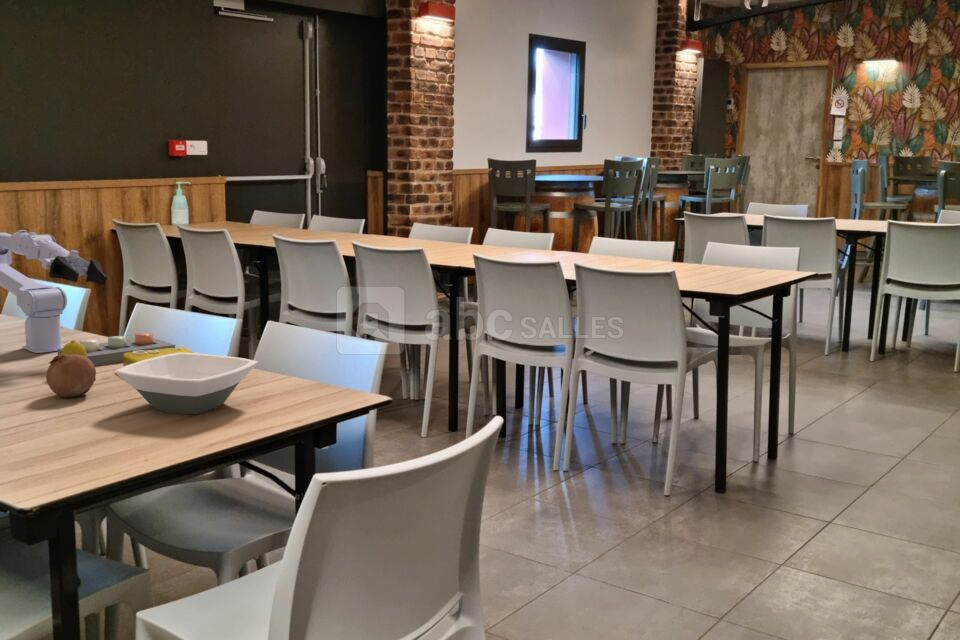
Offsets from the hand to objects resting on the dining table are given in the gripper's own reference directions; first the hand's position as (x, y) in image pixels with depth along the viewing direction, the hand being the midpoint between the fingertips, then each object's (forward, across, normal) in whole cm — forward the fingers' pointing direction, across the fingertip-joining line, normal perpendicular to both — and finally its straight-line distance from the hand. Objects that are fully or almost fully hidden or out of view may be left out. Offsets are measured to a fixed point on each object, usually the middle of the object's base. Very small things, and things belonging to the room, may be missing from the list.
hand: (91, 279), depth 227 cm
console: (+5, +10, +18) cm, 21 cm away
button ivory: (+3, +3, +17) cm, 18 cm away
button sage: (+4, +10, +16) cm, 19 cm away
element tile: (+26, +7, +13) cm, 30 cm away
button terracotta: (+5, +17, +14) cm, 22 cm away
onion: (+31, -19, +16) cm, 40 cm away
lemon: (+15, -8, +18) cm, 25 cm away
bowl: (+54, -10, +7) cm, 56 cm away
